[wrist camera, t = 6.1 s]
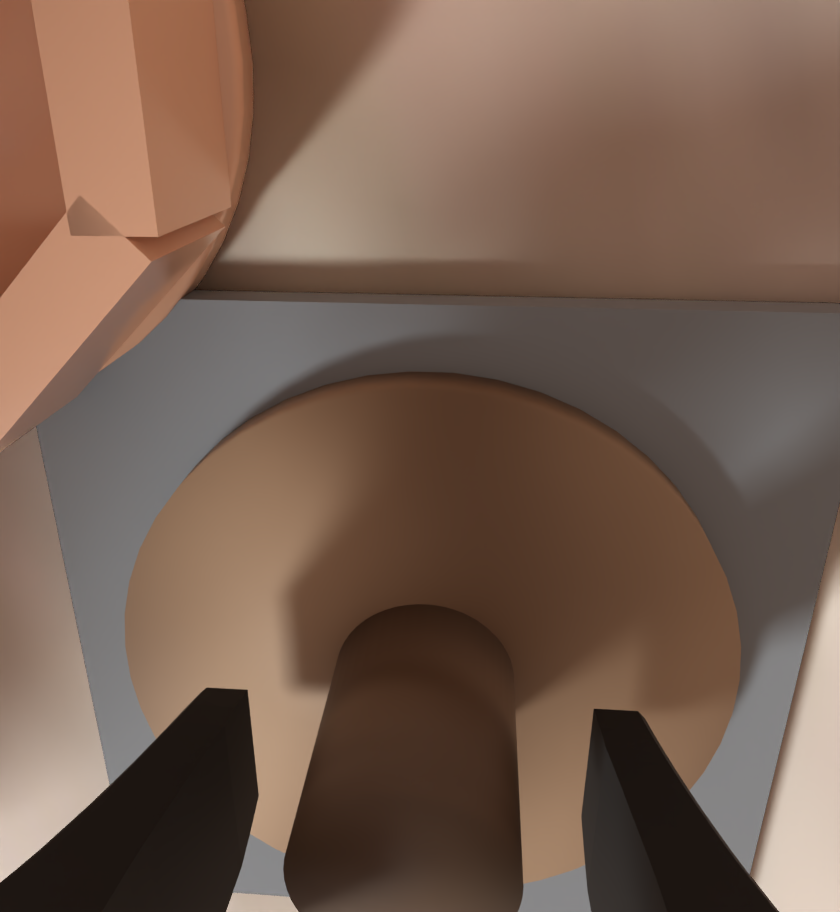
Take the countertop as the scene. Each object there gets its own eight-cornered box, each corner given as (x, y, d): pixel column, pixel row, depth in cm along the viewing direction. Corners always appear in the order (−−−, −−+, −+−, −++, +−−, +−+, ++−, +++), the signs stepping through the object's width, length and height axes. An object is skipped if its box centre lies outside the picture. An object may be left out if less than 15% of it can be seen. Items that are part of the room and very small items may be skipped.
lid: (196, 847, 16) (96, 1103, 12) (87, 380, 12) (-119, 524, 8) (700, 859, 15) (780, 1142, 11) (759, 360, 11) (917, 511, 7)
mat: (142, 859, 17) (130, 885, 16) (30, 286, 12) (9, 295, 11) (728, 900, 16) (736, 929, 15) (865, 303, 11) (885, 314, 11)
